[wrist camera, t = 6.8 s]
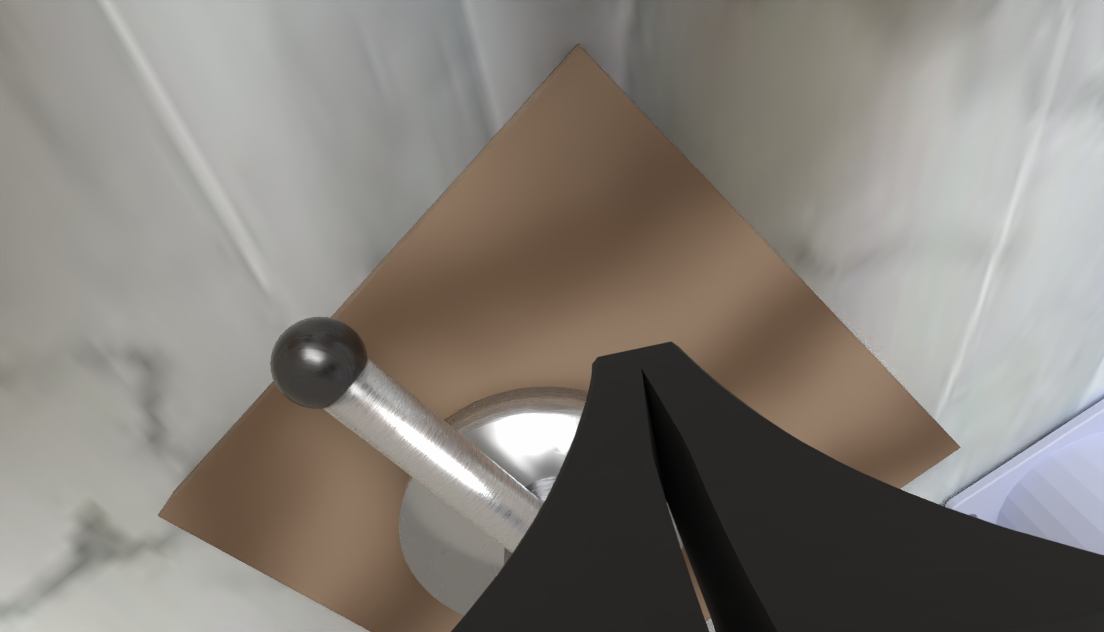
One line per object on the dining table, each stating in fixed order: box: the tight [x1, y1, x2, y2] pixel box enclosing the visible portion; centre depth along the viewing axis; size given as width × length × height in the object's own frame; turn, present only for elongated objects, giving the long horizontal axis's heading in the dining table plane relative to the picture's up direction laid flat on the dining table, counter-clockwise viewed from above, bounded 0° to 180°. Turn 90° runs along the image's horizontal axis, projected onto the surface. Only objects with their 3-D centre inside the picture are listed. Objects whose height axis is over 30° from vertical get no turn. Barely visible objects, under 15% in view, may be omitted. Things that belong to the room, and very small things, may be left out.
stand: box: [158, 44, 961, 632], centre depth 22 cm, size 18×20×2 cm
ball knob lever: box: [271, 317, 683, 616], centre depth 20 cm, size 20×9×4 cm, turn 42°
